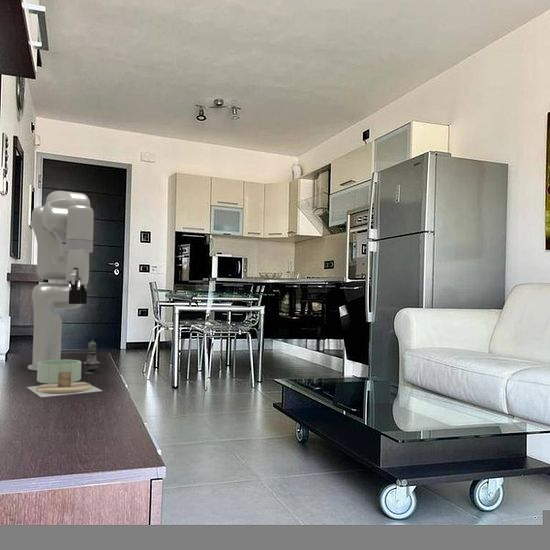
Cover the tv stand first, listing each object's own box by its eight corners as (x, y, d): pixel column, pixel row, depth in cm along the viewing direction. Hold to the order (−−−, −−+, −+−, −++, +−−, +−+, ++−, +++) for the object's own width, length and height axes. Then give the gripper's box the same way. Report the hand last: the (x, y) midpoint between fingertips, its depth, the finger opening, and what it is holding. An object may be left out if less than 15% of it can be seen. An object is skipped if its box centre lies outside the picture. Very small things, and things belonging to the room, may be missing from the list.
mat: (26, 388, 156) (26, 386, 156) (84, 383, 166) (84, 381, 166) (41, 398, 142) (41, 397, 142) (102, 392, 153) (102, 390, 153)
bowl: (33, 379, 170) (33, 361, 170) (73, 376, 178) (74, 358, 178) (43, 385, 160) (44, 366, 160) (85, 382, 168) (86, 363, 168)
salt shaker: (94, 374, 183) (95, 340, 183) (79, 373, 184) (80, 339, 184) (103, 371, 188) (104, 338, 189) (88, 371, 190) (89, 338, 190)
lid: (31, 387, 155) (31, 371, 156) (82, 382, 165) (82, 367, 165) (44, 396, 144) (44, 378, 144) (98, 390, 153) (98, 374, 153)
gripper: (72, 249, 164) (71, 303, 164) (59, 243, 147) (57, 303, 147) (97, 250, 166) (95, 303, 165) (87, 244, 149) (85, 304, 148)
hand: (78, 303), depth 156 cm, fingers open, 9 cm apart
